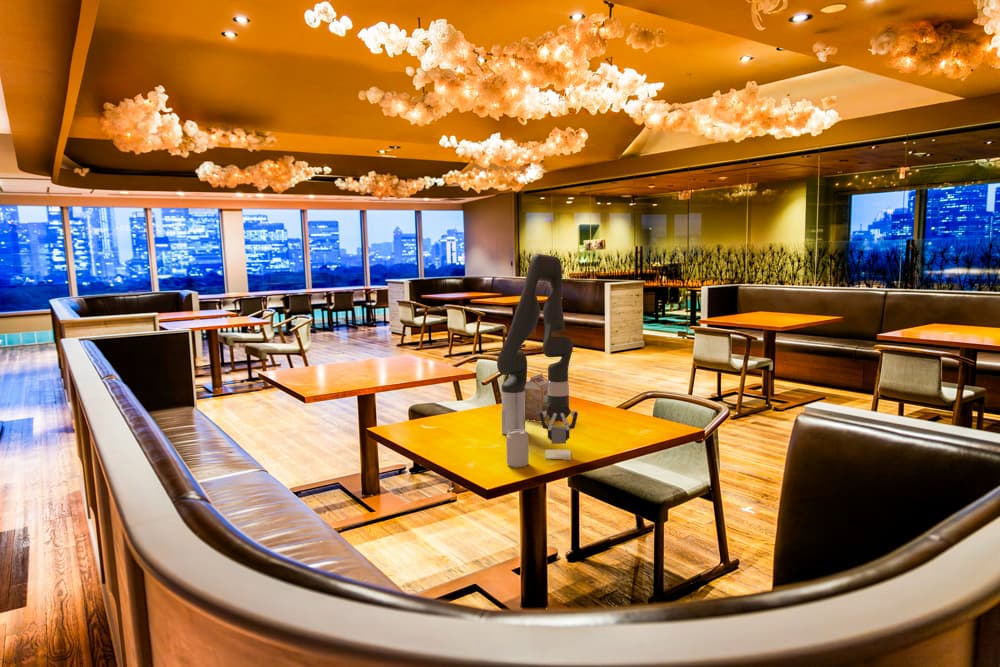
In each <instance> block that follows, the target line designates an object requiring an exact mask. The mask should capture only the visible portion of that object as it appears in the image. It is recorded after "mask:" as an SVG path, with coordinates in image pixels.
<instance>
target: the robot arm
mask: <svg viewBox="0 0 1000 667" xmlns="http://www.w3.org/2000/svg"><path fill="white" fill-rule="evenodd" d="M539 281H547V282H549V283H550V290H549V291H550V292H549V294H548V297H547V298H546V300H545V303H544V305H543V308H542V311H543V312H542V314H543V315H542V316H543V322H544V323H543V324H544V337H543V341H542V342H543V343H542V352H543V354H544V356H545V357H547V358H560V359H559V361H557V362H554V363H550V364H549V365H548V367H547V380H548V390H547V392H548V408H547V410H546V411H543V412H542V411H540V412H539V415H540V419H541V426H542V429H545V430H547V439H548V440H549V441H551V442H552V430H551V428H552V426H554V423H556V422H563V424H564V425H563V426H565V427H566V442H567V441H568V440H569V439H570V430H573V429H575V427H576V423H577V419H578V415H579V414H578V411H577V410H575V411H574V410H571V409H570V386H569V385H570V384H569V365H570V362H571V357H572V354H573V352H574V351H573V349H574V342H573V340H572V339H571V338H570V337H569V336H554V337H553V335H555V334H559V333H561V332H563V331H564V330H565V329H566V328H565V327H566V325H565V320H564V319H565V318H564V313H563V304H562V303H563V301H562V300H563V299H562V298H563V267H562V262H561V260H560V258H559V257H557V256H553V255H550V254H549V255H548V254H547V255H546V254H541V253H535V254H534V255H533V256H532V257H531V260H530V261H529V264H528V269H527V272H526V277H525V280H524V286H523V290H522V292H521V295H520V299H519V301H518V304H517V307H516V308H515V309H516V310H515V313H514V316H513V319H512V322H511V325H510V328H509V331H508V333H507V336H506V338H505V341H504V343H503V346H502V348H501V350H500V351H499V354H498V356H497V362H496V366H497V370H498V372H499V373H500V374H501V375H503V376H508V378H507V379H506V380H505V381H504V382H503V383H501V384H502V385H501V434H502V435H505V436H507V434H508V431H509V430H512V429H523V430H525V431H526V420H525V385H526V382H528V380H527V378H528V377H527V376H528V359H527V355H526V354H525V353H524V351H522V350H520V348H521V346H522V345H523V344H524V343H525V341H526V340H527V339H528V338H529V337H530V336H531V335H532V334H533V332H534V331H535V329H536V327H537V324H538V323H539V322H538V321H539V319H540V316H541V307H540V302H539V300H538V297H537V288H538V283H539ZM546 414H548V416H549V417H550V418H549V422H548V424H547V423H546V420H545V419H544V418H545V417H546ZM569 416H571V418H572V419H571V424H569V422H568V419H567V418H568V417H569Z"/></svg>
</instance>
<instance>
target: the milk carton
mask: <svg viewBox="0 0 1000 667" xmlns="http://www.w3.org/2000/svg"><path fill="white" fill-rule="evenodd" d="M547 390H548V378H546V377H544V376H543V372H541V373H538V374H535V375H533V376H530V378H529V380H527V382H526V385H525V419H529V420H528V421H531V420H535V421H534V422H538V421H541V419H540V415H539V412H540V411H542V412H543V411H546V410H547V408H548V392H547ZM548 418H549V419H551V418H550V417H549V416H548V414H546V417H545V418H544V419H545V421H547V420H549V419H548ZM546 419H547V420H546Z"/></svg>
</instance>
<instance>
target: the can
mask: <svg viewBox="0 0 1000 667" xmlns="http://www.w3.org/2000/svg"><path fill="white" fill-rule="evenodd" d="M505 436H506V437H505V438H506V440H505V442H506V463H507V465H508V466H509V467H511V468H516V469H517V468H518V469H519V468H524V467H526V466H527V465H528V464H529V463H530V462H529V459H530V458H529V456H530V455H529V452H530V451H529V450H530V449H529V434H527V430H526V429H525V430H523V429H512V430H509V431H508V434H507V435H505Z"/></svg>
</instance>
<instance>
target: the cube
mask: <svg viewBox="0 0 1000 667" xmlns="http://www.w3.org/2000/svg"><path fill="white" fill-rule="evenodd" d="M551 430H552V441H551V444H555V445H557V444H558V445H560V444H563V445H564V444H565V445H566V444H567V441H566V427H565V425H553V426H552V428H551Z"/></svg>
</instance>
